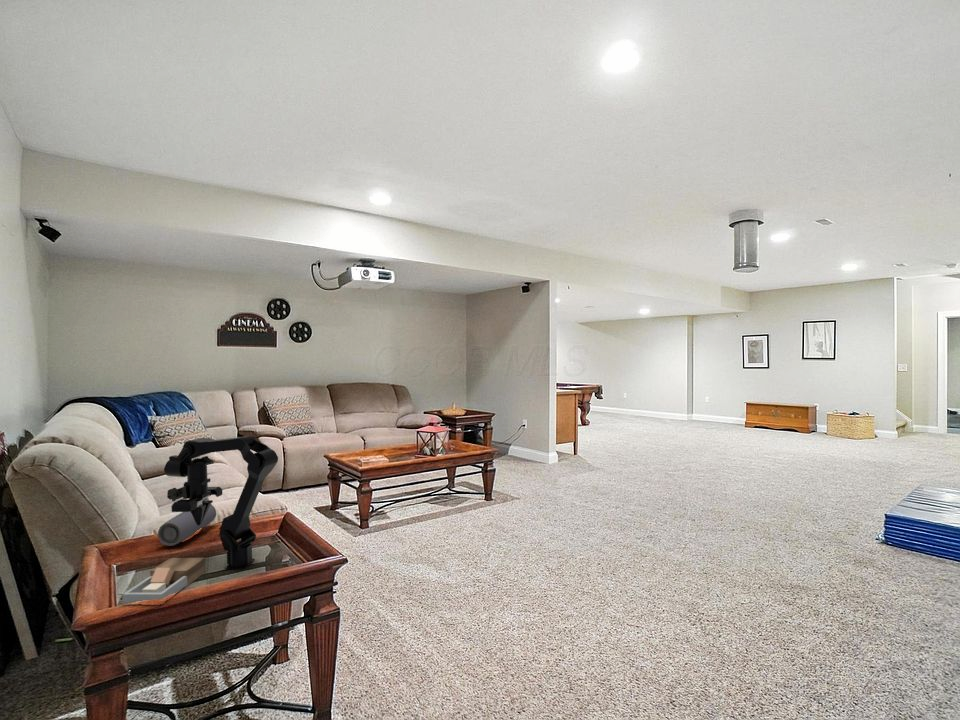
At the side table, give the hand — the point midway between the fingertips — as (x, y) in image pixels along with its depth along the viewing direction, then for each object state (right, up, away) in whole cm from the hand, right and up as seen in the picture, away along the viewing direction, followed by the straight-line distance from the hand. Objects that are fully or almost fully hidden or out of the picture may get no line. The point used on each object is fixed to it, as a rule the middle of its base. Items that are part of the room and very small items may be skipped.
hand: (199, 524), depth 163 cm
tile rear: (0, -10, -18) cm, 20 cm away
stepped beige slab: (+1, -12, -12) cm, 17 cm away
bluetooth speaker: (-16, -12, +22) cm, 30 cm away
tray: (0, -13, -22) cm, 26 cm away
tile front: (0, -10, -23) cm, 25 cm away
